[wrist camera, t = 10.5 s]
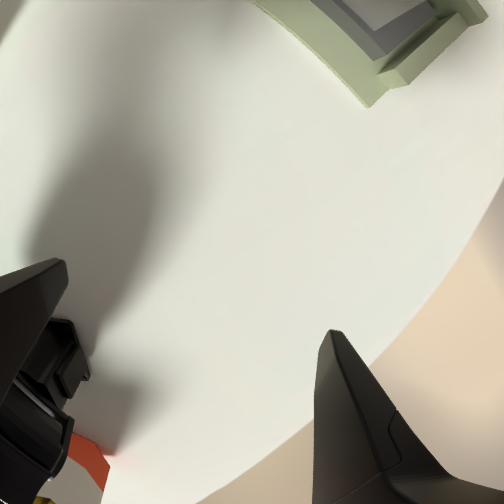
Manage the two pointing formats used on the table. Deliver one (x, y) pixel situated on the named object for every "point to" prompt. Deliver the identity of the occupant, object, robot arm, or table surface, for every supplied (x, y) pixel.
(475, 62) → the table surface
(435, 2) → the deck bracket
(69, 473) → the french fries container
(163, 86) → the table surface
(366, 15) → the grey pillar on base
